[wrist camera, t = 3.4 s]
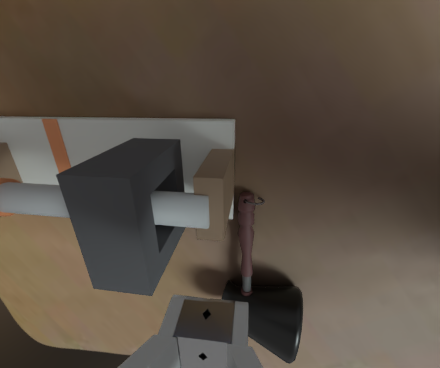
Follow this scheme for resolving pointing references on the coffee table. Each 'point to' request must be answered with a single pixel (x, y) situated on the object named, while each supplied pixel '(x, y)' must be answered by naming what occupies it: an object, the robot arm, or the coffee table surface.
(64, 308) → the coffee table surface
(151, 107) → the coffee table surface
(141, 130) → the rail
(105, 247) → the collar
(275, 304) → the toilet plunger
